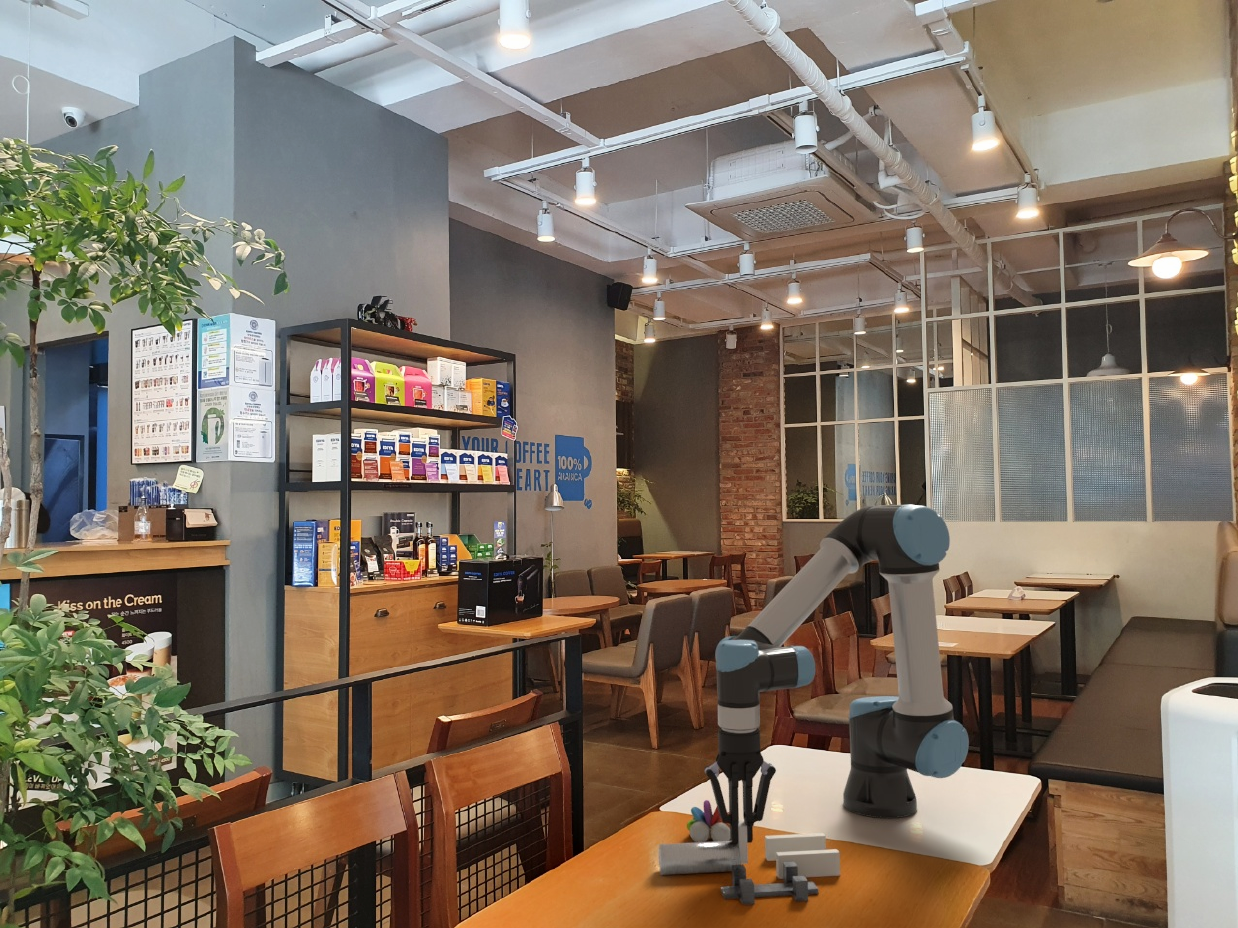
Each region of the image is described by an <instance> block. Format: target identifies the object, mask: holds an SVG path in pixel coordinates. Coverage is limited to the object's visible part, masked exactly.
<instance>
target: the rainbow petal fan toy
mask: <svg viewBox="0 0 1238 928" xmlns="http://www.w3.org/2000/svg"><path fill="white" fill-rule="evenodd" d="M690 812H691V813H690V814H691V815H692V819H691V820H689V821H688V822H687V824H686V829H687V830H688V831H689V835H690V838H691V839H692V840H693V841H694V843H696V842H708V841H709V839H710V838H711V839H712V842H716V841H731V838H730V824H729V823H724V822H723V821H722V819H721V818H720V815H719V811H718V808H717V806H716V807H715V809H714V811H712V805H711V802H710V800H708V799H706V800H704V801H703V810H702V809H700V807H697V806H693V807H692V808H691V809H690ZM727 814H729V811H727Z"/></svg>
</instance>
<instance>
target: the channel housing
mask: <svg viewBox="0 0 1238 928" xmlns="http://www.w3.org/2000/svg"><path fill="white" fill-rule="evenodd" d="M826 840H827V839H826V835H825V833H823V832H815V833H799V834H798V833H796V834H795V833H794V834H777V835H776V834H775V835H765V836H764V846H765V847H764V853H765V854H764V857H765V860H766V861H767V862H771V861H772V862H775V861H776V863H775V864H776V866H775V867H776V868H775V869H776V870H775V871H776V877H777V879H778V880H780V879H782V880H783V862H795V863H796V865H797V866H798V876H805V878H817V877H839V876H840V877H841V864H840V863H841V859H840V858H841V856H840V851H839V850H838V849H836V848H833V849H832V848H831V849H827V845H826V843H827V842H826Z"/></svg>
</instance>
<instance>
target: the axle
mask: <svg viewBox="0 0 1238 928" xmlns="http://www.w3.org/2000/svg"><path fill="white" fill-rule="evenodd" d="M732 865H742V864H741V856H740V848H739V844H738V843H734V844H733V842H732V840H729V841H716V842H714V841H706V842H679V843H678V842H677V843H661V844H660V843H659V844H658V867H659V872H660V875H661V876H664V875H665V876H666V875H667V876H668V875H683V874H701V873H703V874H704V873H721V872H732Z"/></svg>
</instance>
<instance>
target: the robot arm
mask: <svg viewBox="0 0 1238 928" xmlns="http://www.w3.org/2000/svg"><path fill="white" fill-rule="evenodd" d="M950 542H951V540H950V532H949V529H948V526H947V524H946V522H945V520H944V518H943V517H942V516H941V515H940V514H939V513H938V512H937V511H936V510H935V509H933V508H931V507H929V506H925V505H917V504H916V505H915V504H913V503H912V504H911V503H910V504H889V505H888V504H887V505H881V504H873V505H868V506H864V507H861V508H860V509H857V510H855V511H853V512H852V513H850V514H849V515H848V516H846V517H845V518H844V519H842V520H841V521H840V522H839V523H838V524H837V525H835V527H834V528H832V529H830V531H829V532H828V533H827V534H826V535H825V536H824V537H823V538H822V540H821V541H820V543H819V547H820V549H819V550H818V551H817V552H816V553H815V554H814V555H813V556H812V557H811V559H809V560H808V561H807V563H805V565H804V566H802V568H801V569H800V570H799V571H798V572H797V573H796V574H795V575H794V576H793V578H792V579H791V580H790V581H788V583H787V584H785V586H784V587H783V588H782V589H781V590H780V591H779V592H778V593H777V594H776V596H774V597H773V599H771V601H769V603H768V604H767V605H766V606H765V607H764V608H763V609H762V610H761V611H760V612H759V613H758V615H756V616H755V618H754V619H753V620H752V621H751V622H750V623H749V624H748V625H747V626H746V627H745V628H744V629H743V630H742V631H741V632H740V633H739V634H738V635H732V636H731V635H730V636H726V637H724V638H722V639H721V640H720V641H719V643H717V645H716V649H715V653H714V654H715V662H716V663H715V669H716V694H717V695H716V696H717V725H718V726H719V729H718V730H717V737H718V738H717V740H718V741H717V742H718V753H717V756H716V758H715V762H714V763H712V764H711V765H710V766H709V765H707V766H705V767H704V769H703V771H704V773H705V774H706V776H707V777H708V779H709V781H710V784H711V788H712V792H713V796H714V798H715V799H714V800H715V804H716V807H717V808H718V811H719V815H720V818H721V819H722V821H723V822H724V823H729V824H730V841H732V842H733V844H734V843H738V844H739V848H740V856H741V865H742V864H743V865H744V864H748V863H749V860H748V856H749V855H748V853H749V851H748V849H749V848H748V843H750V844H751V843H753V840H754V837H753V836H754V834H753V829H754V828H753V826H755V823H756V822H762V821H763V818H764V816H765V815H764V814H765V809H766V805H767V804H766V803H767V799H768V795H769V790H770V787H771V786H770V785H771V780H772V779H773V777H774V776H775V774H776V772H777V770H776V767H775V766H774V764H772V763H768V762H767V761H765V760H764V757H763V755H762V752H761V730H760V729H759V728H760V725H761V719H760V692H761V693H762V692H769V691H770V692H771V691H778V690H786V689H798V688H800V687H804V686H808V685H810V684H811V683H812V682H813V681H814V678H815V675H816V662H815V658H814V656H813V654H812V652H811V651H810V650H809V648H807V647H805V646H803V645H792V644H791V645H789V646H783V644H785V642H786V641H787V640H788V639H789V638H790V637H791V636H792V635H793V634H794V633H795V632H796V630H798V628H799V627H800V626H801V625H802V624H803V623H804V622H805V621H806V619H808V617H809V616H810V615H811V614H812V613H813V612H814V611H815V610H817V608H818V607H819V605H821V603H823V601H824V600H825V599H826V598H827V597H828V596H829V595H830V593H831V592H832V591H834V589H836V587H837V586H838V585H839V584H840V582H842V580H843V579H844V578H845V577H846V576H848V574H855V573H857V571H859V569H860V568H861V567H862V566H864V565H865V564H868V563H870V562H871V563H872V562H873V561H875V562H878V568H879V569H878V570H879V574H880V576H882V577H883V578H884V579H885V580H886V581H887V583H888V594H889V606H890V615H891V627H892V635H893V636H892V637H893V647H894V658H895V669H896V679H897V680H896V681H897V688H898V696H897V695H896V696H893V695H884V696H883V695H880V696H866V697H860V698H856V699H854V700H853V701H851V703H850V704H849V716H848V727H849V750H850V752H849V753H850V755H849V756H850V770H849V774H848V777H847V779H846V784H845V786H844V789H843V796H842V797H843V799H842V800H843V807H844V808H845V809H847V810H848V811H850V812H853V813H854V814H857V815H862V816H865V817H866V816H867V817H873V818H883V819H885V818H886V819H889V818H890V819H893V818H894V819H896V818H903V817H907V816H911V815H913V814H915V813H916V811H917V809H918V807H917V806H918V805H917V800H918V799H917V796H916V794H915V793H916V792H915V791H914V787H913V785H912V781H911V779H910V776H909V773H908V770H909V771H912V772H915V773H919V774H920V775H922V776H924V777H930V778H931V777H932V778H935V779H946V778H948V777H951V776H952V775H954V774H955V773H956V772H958V771H959V770H960V768H961V767H962V765H963V763H964V762H965V760H966V759H967V755H968V752H969V745H970V742H969V741H970V740H969V735H968V732H967V729H966V728H965V727H963V724H961V723H960V722H959V721H957V720H955V719H954V708H953V704H952V703H951V702H950V701H948V699H946V698H945V696H944V688H943V676H942V666H941V657H940V656H941V655H940V646H939V644H940V643H939V634H938V633H939V632H938V625H937V623H938V622H937V615H936V612H937V611H936V601H935V591H934V583H933V582H934V580H933V579H934V577H935V576H936V575H937V574H938V573H939V572H940V562H942V561H943V560H944V559H945V557H946V556H947V551H949V548H950ZM719 770H721V771H722V773H723V774H724V775H725V777H726V778H727V783H728V809H729V810H727V807H726V803H725V799H724V796H723V792H722V788H721V784H720V781H719V779H718V778H719V776H720V772H719ZM759 770H760V773H761V774H760V778H759V783H758V788H757V791H756V792H757V793H756V797H755V801H754V805H753V787H754V786H753V785H754V784H753V783H754V782H753V779H754V778H755V776H756V775H757V773H758V772H759ZM740 781H741V782H742V803H743V804H742V811H743V812H742V813H743V815H742V816H743V820H742V821H741V820H740V819H739V818H740V817H739V816H740V815H739V785H740V784H739V782H740ZM727 812H729V814H727Z"/></svg>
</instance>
